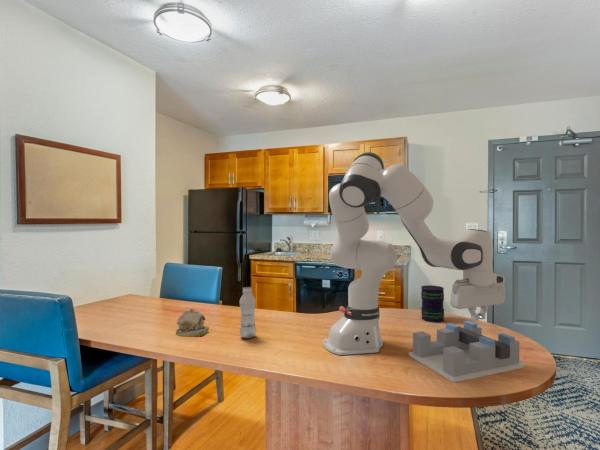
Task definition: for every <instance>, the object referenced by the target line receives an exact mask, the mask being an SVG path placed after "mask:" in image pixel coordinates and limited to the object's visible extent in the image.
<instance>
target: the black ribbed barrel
mask: <svg viewBox="0 0 600 450" xmlns="http://www.w3.org/2000/svg"><path fill="white" fill-rule="evenodd" d="M444 289H445V287H443V286H439V285H429V284H426V285H422V286H421V289H420V290H421V292H420V297H421V307H420V308H421V320H422V321H424V322H428V323H433V324H434V323H442V322H445V319H444V317H445V308H444V301H445V293H444V292H445V291H444Z"/></svg>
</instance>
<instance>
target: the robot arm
mask: <svg viewBox="0 0 600 450" xmlns="http://www.w3.org/2000/svg"><path fill="white" fill-rule="evenodd" d="M381 197H382V198H384V199H385V200H386V201H387V202H388V203H389V204H390V205H391V206H392V208H393V209H394V210H395V212H397V214H398V215H399V218H400V220H401V222H402V224H403V226H404V227H405V229H406V231H407V232H408V234H409V235H410V236H411V238H412V240H414V242H415V244H416V245H417V246H418V249H419V250H420V251H419V252H420V253H421V256H422V259H423V261H424V262H425V263H426V265H427V266H429V267H433V268H443V269H448V270H456V271H462V279H456V280H455V281H454V282H453V283H452V285H451V286H452V287H451V290H450V291H451V292H450V306H451V307H452V308H453V309H458V310H464V309H465V310H466V309H467V310H468V312H469V314H470V319H471V320H472V321H479V320H485V319H486V314H487V312H488V310H489V307H490V306H496V305H504V304H505V301H506V286H505V284H504V283H506V277H505V276H503V275H500V274H497V273H494V268H493V267H494V266H493V264H492V263H493V258H494V248H493V246H494V245H493V238H492V235H491V233H490V232H488V231H487V230H483V229H475V228H469V229H468V228H467V229H465V230H464V233H462V234H461V235H460V236H458V237H457V238H454V239H445V238H439V237H437V236H435V235H434V234H433V233H432V231H431V230H430V228H429V226H428V225H427V223H426V222H425V220H426V218H428V217H429V216H430V214H431V212H432V211H433V208H434V199H433V196H432V194H431V193H430V192H429V190H428V189H427V188H426V186H425V185H424V184H423V182H422V181H421V180H420V178H419V177H417V176H416V175H415V174H414V173H413V172H412V171H410V170H409V169H408V168H407V167H406V166H405V165H402V164H399V163H396V164H392V165H389V166H387V167H386V168H385V166H384V162H383V159H382V158H381V156H379V155H378V154H376V153H374V152H371V151H370V152H369V151H368V152H367V151H366V152H363V153H361V154H360V155H358V156H357V157H356V158H354V160H353V161H352V162H351V164H350V166H349V167H348V169H346V171H345V174H344V177H343V178H342V180H341V182H340V183H337V184H335V185H333V186H332V187H331V188H330V190H329V193H328V201H329V206H330V210H331V214H332V218H333V220H334V223H335V226H336V229H337V233H338V239H337V240H336V242H334V243H333V245H332V246H331V250H330V259H331V261H332V263H333V264H334V265H335V266H337V267H340V268H345V269H352V270H361V275H360V277H358V278H356V279H354V280H353V281H351V282H350V283H349V285H348V288H347V291H348V292H347V296H348V299H347V301H348V305H347V306H346V307H345V306H342V305H341V306H339V309H338V310H339V311H340V313H344V314H343V316H342V317H341V318H339V320H337V321H336V322H335V323H334V324H333V325H331V327H330V328H329V332H328V338H327V337H326V338H324V339H322V345H323V347H324V348H325V350H327V351H328V352H330V353H332V354H333V355H337V356H346V355H347V356H348V355H359V354H361V355H362V354H373V353H375V354H376V353H379V352H380V349H381V348H382V347H383V346H384V343H383V339H382V335H381V329H380V321H379V320H380V306H379V291H380V289H379V288H380V284H381V281H382V279H383V278H384V276H385V275H386V274H387V273H388V272H389V271H390V270H392V269H394V267H395V265H397V261H398V251H397V248H396V247H395V245H394V244H392V243H390V242H387V241H382V240H363V239H362V238H363V237H365V235H367V233H368V231H369V227H370V223H369V219H368V217H367V213H366V209H365V206H367V205H369V204H373V203H376V202H378V201H380V198H381ZM477 308H480V309H479V312H477V313H476V311H477Z"/></svg>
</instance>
